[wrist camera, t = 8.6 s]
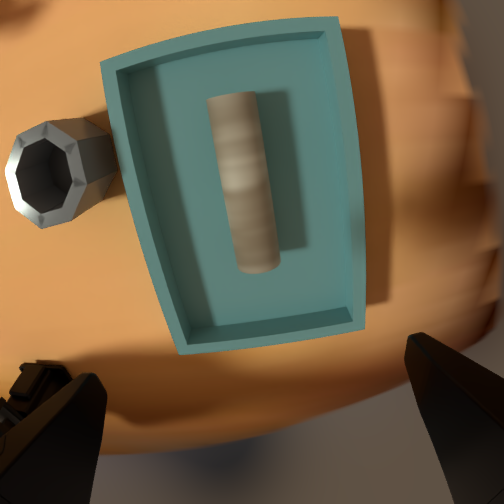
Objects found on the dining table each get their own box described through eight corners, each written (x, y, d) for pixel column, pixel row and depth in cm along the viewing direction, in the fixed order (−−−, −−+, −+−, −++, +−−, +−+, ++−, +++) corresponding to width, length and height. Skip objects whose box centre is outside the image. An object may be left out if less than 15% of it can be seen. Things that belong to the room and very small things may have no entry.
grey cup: (123, 195, 18) (95, 214, 14) (56, 212, 18) (23, 234, 15) (104, 109, 16) (71, 110, 12) (37, 136, 16) (-1, 144, 13)
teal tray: (354, 307, 21) (364, 329, 19) (185, 332, 22) (179, 355, 20) (326, 28, 14) (337, 16, 12) (118, 67, 15) (99, 62, 13)
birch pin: (285, 278, 17) (270, 103, 11) (241, 287, 17) (206, 114, 11) (267, 223, 21) (250, 81, 15) (231, 230, 21) (204, 88, 15)
